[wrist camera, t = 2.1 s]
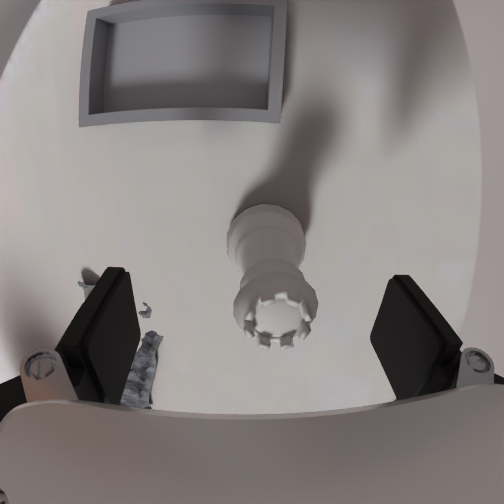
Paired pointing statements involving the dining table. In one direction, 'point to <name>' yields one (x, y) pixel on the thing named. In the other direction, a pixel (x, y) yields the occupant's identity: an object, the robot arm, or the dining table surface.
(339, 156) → the dining table surface
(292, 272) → the rook chess piece
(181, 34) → the gray rectangular open tray
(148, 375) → the driftwood
